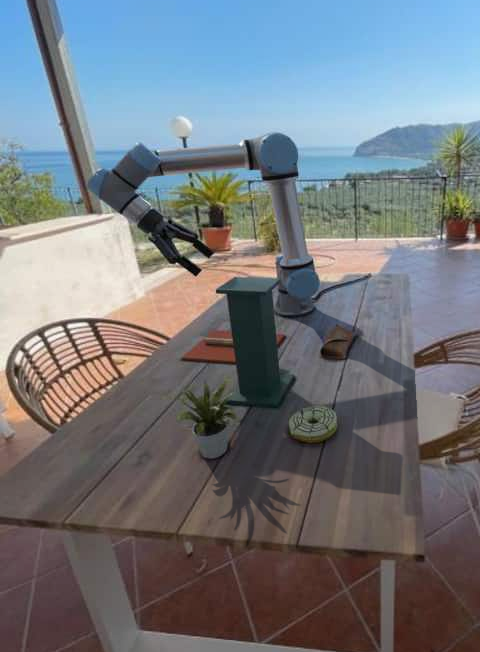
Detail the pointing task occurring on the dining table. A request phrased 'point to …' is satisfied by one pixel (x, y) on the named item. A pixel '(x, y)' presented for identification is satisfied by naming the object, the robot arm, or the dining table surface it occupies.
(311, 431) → the decorated donut
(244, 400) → the stand
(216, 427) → the house plant
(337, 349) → the sunglasses case
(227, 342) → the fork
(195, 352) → the mat
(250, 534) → the dining table surface
